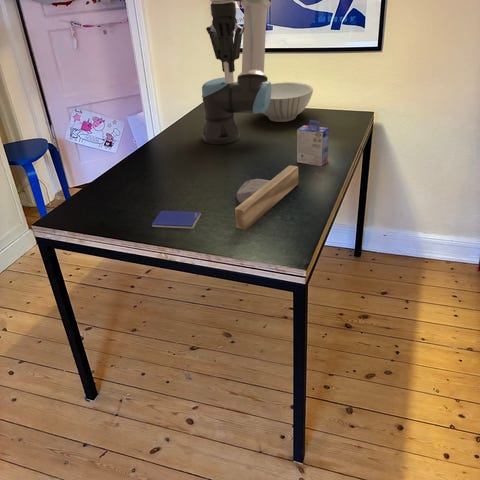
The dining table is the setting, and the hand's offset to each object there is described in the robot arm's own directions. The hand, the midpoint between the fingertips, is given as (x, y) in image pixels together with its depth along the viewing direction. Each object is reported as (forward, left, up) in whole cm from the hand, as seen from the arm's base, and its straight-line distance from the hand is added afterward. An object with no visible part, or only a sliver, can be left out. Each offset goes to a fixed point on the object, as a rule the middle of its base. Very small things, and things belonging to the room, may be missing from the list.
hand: (229, 82), depth 155 cm
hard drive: (+5, -40, -30) cm, 51 cm away
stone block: (+18, -17, -30) cm, 39 cm away
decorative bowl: (-11, +54, -30) cm, 62 cm away
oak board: (+25, -20, -29) cm, 43 cm away
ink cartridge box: (+23, +14, -30) cm, 40 cm away
